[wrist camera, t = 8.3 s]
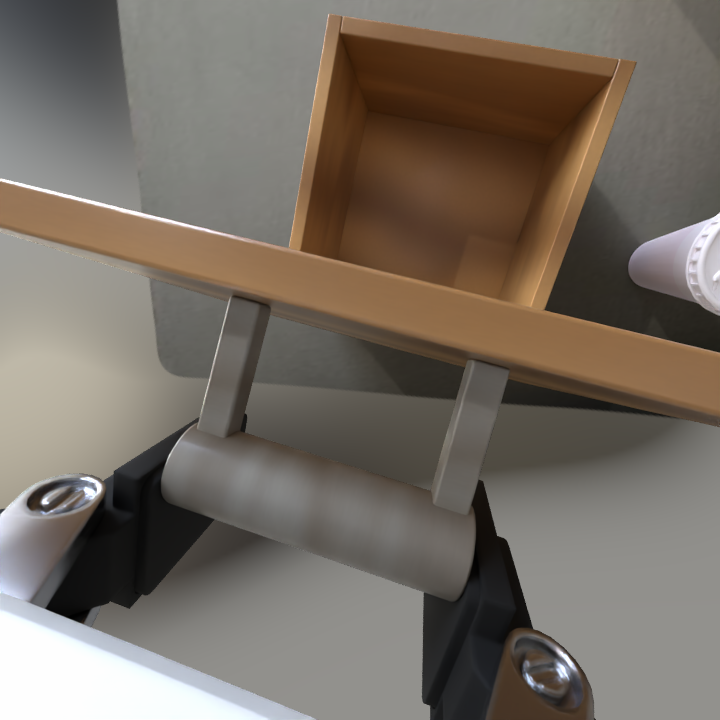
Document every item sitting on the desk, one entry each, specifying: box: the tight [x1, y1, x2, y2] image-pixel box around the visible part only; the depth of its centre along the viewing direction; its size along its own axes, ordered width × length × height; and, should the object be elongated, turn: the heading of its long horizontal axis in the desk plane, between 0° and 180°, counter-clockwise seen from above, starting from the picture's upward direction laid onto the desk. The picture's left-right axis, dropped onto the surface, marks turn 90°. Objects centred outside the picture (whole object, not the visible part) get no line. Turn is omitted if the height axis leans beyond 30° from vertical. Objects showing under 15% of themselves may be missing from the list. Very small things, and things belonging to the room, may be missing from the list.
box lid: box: [0, 178, 720, 602], centre depth 14 cm, size 17×16×5 cm
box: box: [289, 14, 636, 310], centre depth 25 cm, size 16×16×10 cm
